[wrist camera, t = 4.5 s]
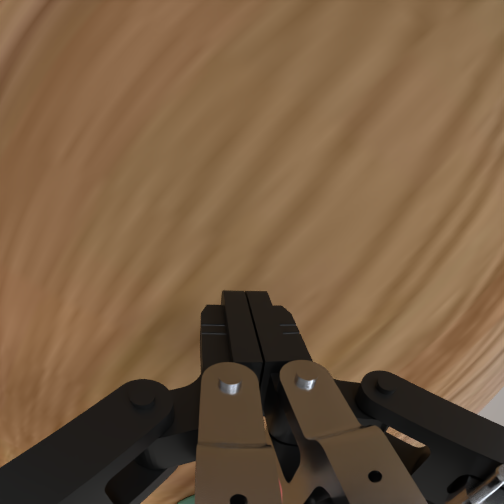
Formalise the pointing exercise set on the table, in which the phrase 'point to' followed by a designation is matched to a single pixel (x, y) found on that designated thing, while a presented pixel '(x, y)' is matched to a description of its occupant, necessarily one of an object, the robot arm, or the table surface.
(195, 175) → the table surface
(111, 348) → the table surface
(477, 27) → the table surface
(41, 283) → the table surface
